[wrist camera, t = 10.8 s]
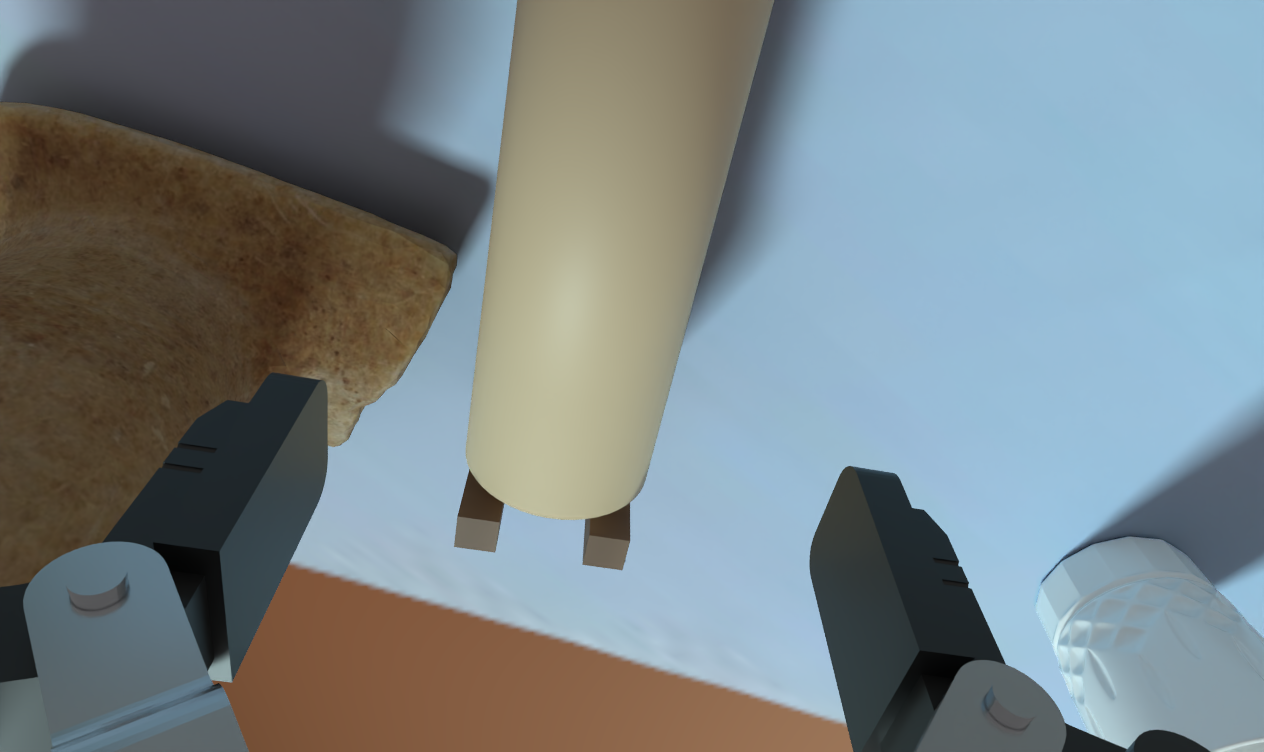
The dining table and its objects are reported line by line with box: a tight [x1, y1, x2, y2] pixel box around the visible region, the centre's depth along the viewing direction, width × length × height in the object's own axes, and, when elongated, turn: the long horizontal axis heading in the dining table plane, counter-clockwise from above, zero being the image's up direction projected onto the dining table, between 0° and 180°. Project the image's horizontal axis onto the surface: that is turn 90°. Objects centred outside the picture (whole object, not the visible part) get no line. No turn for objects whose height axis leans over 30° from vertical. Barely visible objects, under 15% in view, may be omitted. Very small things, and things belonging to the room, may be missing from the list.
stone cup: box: [0, 102, 457, 587], centre depth 23 cm, size 15×12×15 cm
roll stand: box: [454, 469, 630, 570], centre depth 23 cm, size 6×21×8 cm, turn 169°
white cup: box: [1035, 536, 1264, 752], centre depth 33 cm, size 8×8×10 cm
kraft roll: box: [466, 0, 774, 520], centre depth 21 cm, size 6×20×6 cm, turn 169°
